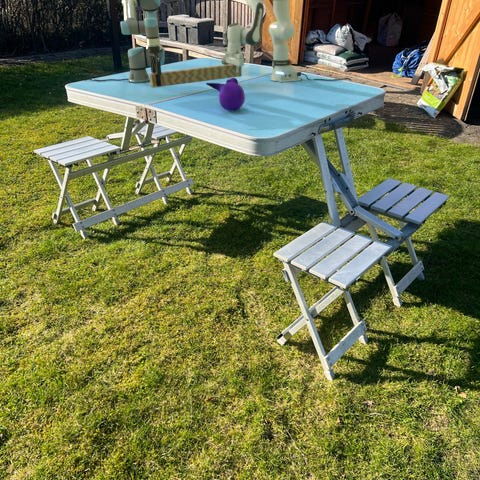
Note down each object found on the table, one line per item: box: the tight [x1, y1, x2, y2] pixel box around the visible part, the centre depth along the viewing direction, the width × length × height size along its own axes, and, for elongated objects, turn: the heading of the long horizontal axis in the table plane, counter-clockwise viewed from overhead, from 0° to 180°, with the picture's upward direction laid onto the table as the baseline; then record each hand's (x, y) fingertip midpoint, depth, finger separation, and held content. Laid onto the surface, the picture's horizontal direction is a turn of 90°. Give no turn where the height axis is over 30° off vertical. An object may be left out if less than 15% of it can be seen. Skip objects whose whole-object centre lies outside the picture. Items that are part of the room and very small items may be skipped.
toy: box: [205, 77, 246, 112], centre depth 259 cm, size 16×18×27 cm
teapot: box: [221, 51, 245, 65], centre depth 369 cm, size 21×12×15 cm, turn 120°
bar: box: [148, 64, 242, 89], centre depth 296 cm, size 64×4×8 cm, turn 119°
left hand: (157, 85), depth 286 cm, fingers closed on bar, 4 cm apart
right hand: (234, 71), depth 308 cm, fingers closed on bar, 4 cm apart
